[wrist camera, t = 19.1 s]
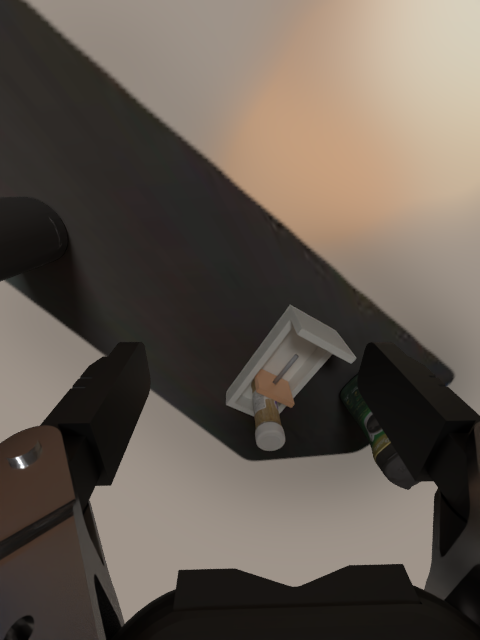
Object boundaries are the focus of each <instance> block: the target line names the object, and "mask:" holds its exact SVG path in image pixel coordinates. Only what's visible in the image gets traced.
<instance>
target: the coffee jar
mask: <svg viewBox="0 0 480 640" xmlns="http://www.w3.org/2000/svg"><path fill="white" fill-rule="evenodd" d="M357 378H358V374H357V375H356V376H355V377H354V378H353V379H352V380H350V381H349V382H348V383H347V384H346V386H345V387H344V388H343V389H342V391H341V394H340V397H341V400H342V402H343V403H344V405H345V406H346V408H347V409H348V411H349V412H350V414H351V415H352V416H353V418H354V419H355V420H356V422H357V423H358V425H359V426H360V428H361V429H362V431H363V432H364V434H365V435H366V437H367V439H368V441H369V443H370V445H371V448H372V453H373V457H374V460H375V462H376V464H377V465H378V466H379V468H380V469H381V471H382V472H383V474H384V475H385V476H386V477H387V478H388V480H389V481H390V482H392V483H393V484H395V485H397V486H399V487H402V488H404V489H407V490H409V489H410V488H411V487H412V486H414V485H416V484H417V483H419V482H421V481H418V482H415V480H414V479H413V477H412V476H411V474H410V472H409V471H408V469H407V468H406V466H405V464H404V463H403V461H402V460H401V458H400V456H399V455H398V453H397V452H396V450H395V449H394V447H393V445H392V444H391V442H390V441H389V439H388V437H387V436H386V434H385V433H384V431H383V430H382V428H381V426H380V425H379V423H378V422H377V420H376V418H375V417H374V415H373V414H372V412H371V410H370V409H369V407H368V406H367V404H366V403H365V401H364V399H363V398H362V396H361V395H360V393H359V390H358V385H357Z"/></svg>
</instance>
